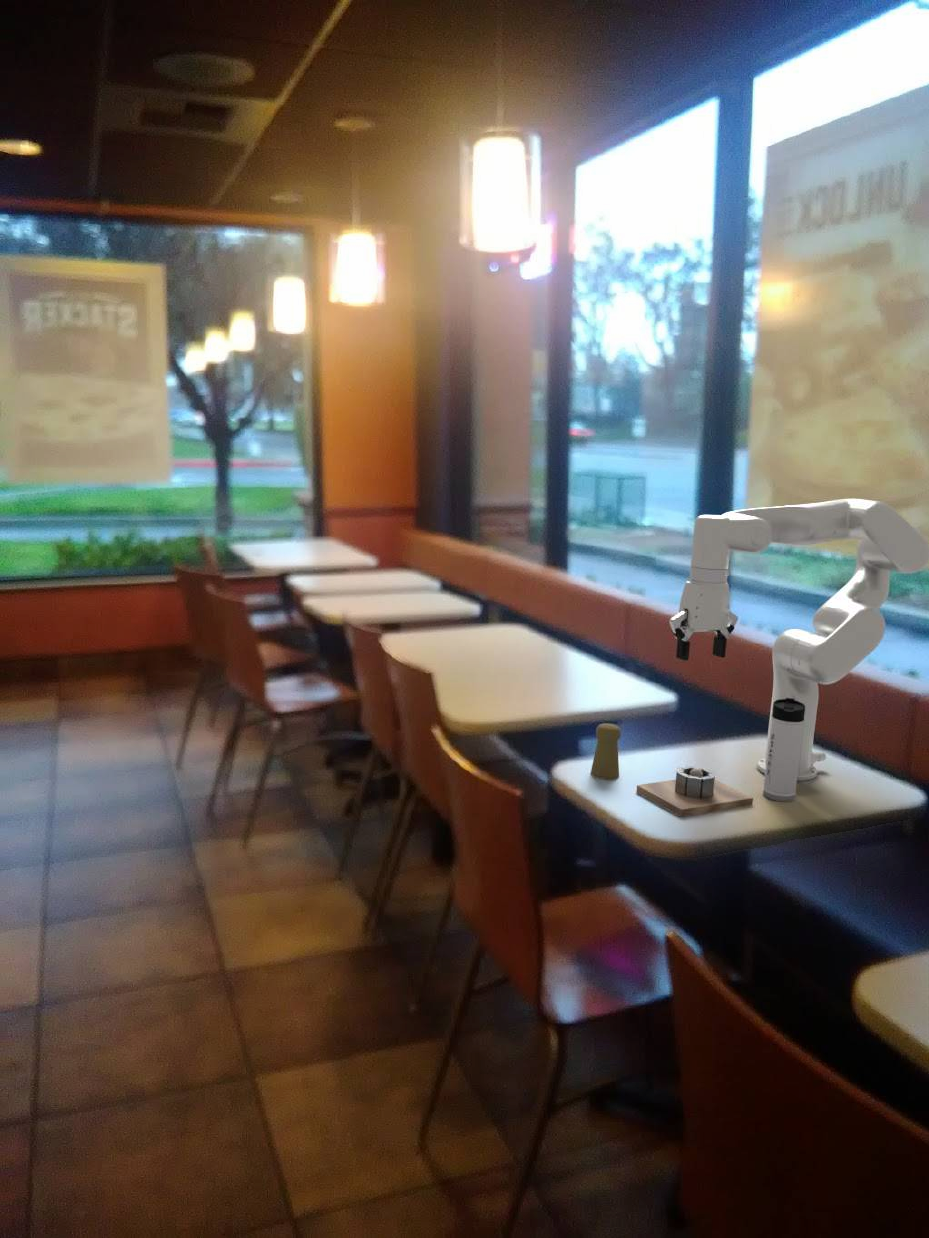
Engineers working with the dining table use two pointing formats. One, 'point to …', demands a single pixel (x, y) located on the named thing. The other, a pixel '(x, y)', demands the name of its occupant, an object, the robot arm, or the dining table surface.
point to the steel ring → (694, 783)
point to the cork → (606, 752)
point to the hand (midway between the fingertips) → (700, 657)
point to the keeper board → (688, 806)
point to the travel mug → (784, 750)
